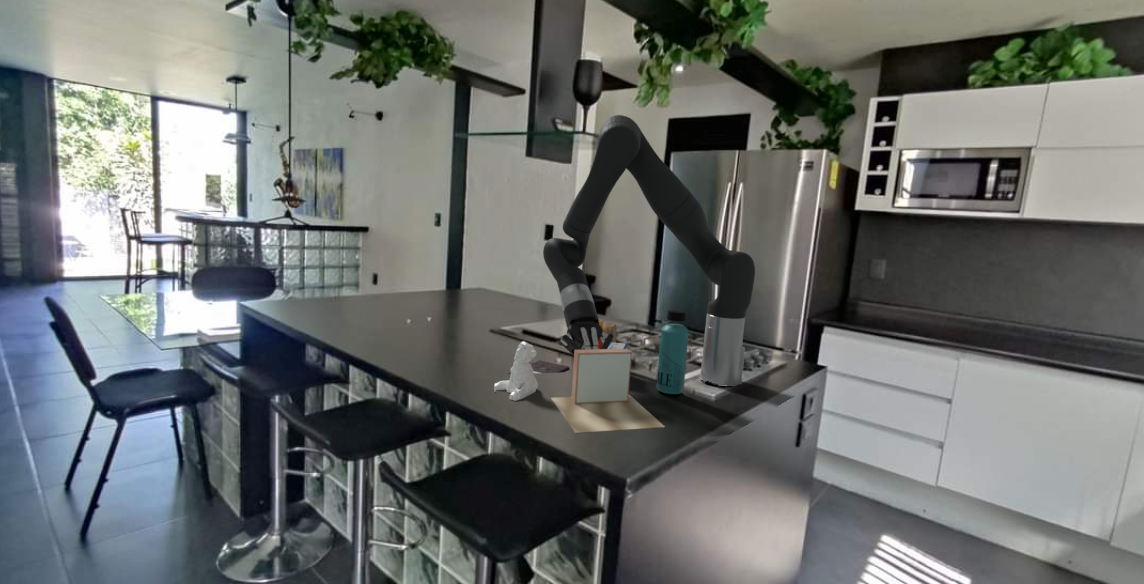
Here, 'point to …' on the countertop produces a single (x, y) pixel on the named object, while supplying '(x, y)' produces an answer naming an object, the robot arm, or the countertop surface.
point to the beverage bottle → (672, 355)
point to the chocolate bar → (547, 367)
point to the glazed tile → (601, 375)
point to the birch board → (606, 415)
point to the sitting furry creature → (520, 374)
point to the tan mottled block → (610, 330)
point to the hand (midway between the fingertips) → (596, 373)
